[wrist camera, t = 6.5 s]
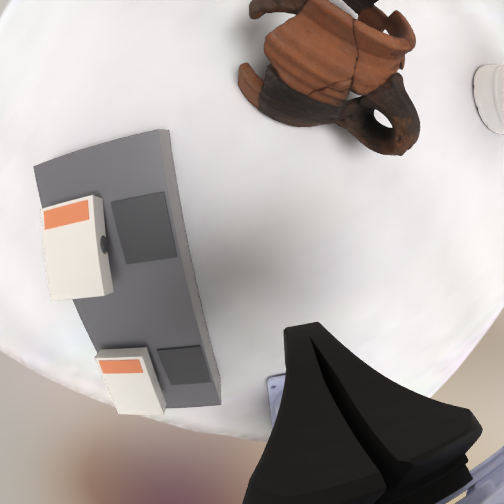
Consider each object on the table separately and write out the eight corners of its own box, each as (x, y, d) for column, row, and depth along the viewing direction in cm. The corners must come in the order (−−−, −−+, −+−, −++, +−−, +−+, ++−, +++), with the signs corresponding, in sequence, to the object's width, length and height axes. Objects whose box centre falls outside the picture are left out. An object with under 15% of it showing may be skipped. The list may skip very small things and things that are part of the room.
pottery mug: (193, 63, 15) (223, -46, 7) (291, 26, 17) (340, -46, 9) (328, 209, 16) (442, 159, 8) (397, 138, 19) (478, 91, 11)
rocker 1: (115, 291, 14) (103, 295, 13) (63, 297, 14) (50, 301, 12) (104, 198, 14) (91, 194, 12) (53, 211, 14) (39, 208, 12)
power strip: (220, 378, 24) (221, 406, 21) (136, 383, 23) (129, 410, 20) (168, 130, 16) (157, 129, 13) (57, 159, 15) (31, 166, 12)
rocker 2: (166, 402, 19) (163, 415, 17) (123, 402, 18) (118, 414, 17) (147, 345, 18) (142, 357, 16) (101, 348, 17) (93, 358, 16)
